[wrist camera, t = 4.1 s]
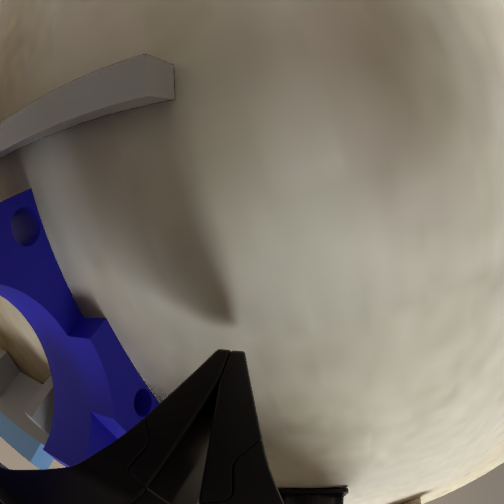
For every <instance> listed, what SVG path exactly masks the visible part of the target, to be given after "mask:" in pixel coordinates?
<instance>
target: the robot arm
mask: <svg viewBox="0 0 504 504" xmlns="http://www.w3.org/2000/svg"><path fill="white" fill-rule="evenodd" d="M347 493H348V488H342V489H322V490H292V489H277V486H276V484H275V482H274V479H273V476H272V474H271V471H270V468H269V465H268V461H267V457H266V454H265V450H264V445H263V441H262V436H261V431H260V427H259V422H258V417H257V412H256V407H255V402H254V398H253V393H252V387H251V382H250V377H249V372H248V367H247V362H246V356H245V353H244V352H243V351H232V352H231V351H230V350H223V349H218V350H217V351H216V352H215V353H214V354H213V355H211V356H210V357H209V358H208V359H207V360H206V361H205V362H204V363H203V364H202V365H201V366H200V367H199V368H198V369H197V370H196V371H195V372H194V373H193V374H192V375H190V376H189V377H188V378H187V379H186V380H185V381H184V382H183V383H182V384H181V385H180V386H179V387H178V388H176V389H175V390H174V391H173V392H172V393H171V394H170V395H169V396H168V397H167V398H166V399H164V400H163V401H162V402H161V403H160V404H159V405H158V406H157V407H156V408H154V409H153V410H152V411H151V412H150V413H149V414H148V415H147V416H145V418H143V419H142V420H141V421H140V422H138V423H137V424H136V425H135V426H134V427H133V428H131V429H130V430H129V431H128V432H126V433H125V434H124V435H122V436H121V437H120V438H118V439H117V440H115V441H114V442H112V443H111V444H109V445H108V446H106V447H105V448H103V449H102V450H100V451H98V452H97V453H95V454H94V455H92V456H90V457H89V458H87V459H85V460H84V461H82V462H80V463H78V464H76V465H73V466H70V467H65V468H57V469H41V470H9V469H8V468H6V467H5V466H4V465H2V464H1V463H0V504H197V502H198V499H199V504H343V497H344V496H345V495H346V494H347ZM199 496H200V497H199Z"/></svg>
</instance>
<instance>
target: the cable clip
mask: <svg viewBox="0 0 504 504" xmlns="http://www.w3.org/2000/svg"><path fill="white" fill-rule="evenodd" d="M0 295H1V296H2V297H4V298H5V299H7V300H8V301H9V302H10V303H12V304H13V305H14V306H15V307H16V308H17V309H18V310H19V311H20V312H21V313H22V315H23V316H24V317H25V318H26V319H27V321H28V322H29V323H30V325H31V326H32V328H33V329H34V331H35V333H36V334H37V336H38V338H39V340H40V342H41V344H42V347H43V349H44V351H45V354H46V357H47V360H48V363H49V366H50V370H51V375H52V380H53V387H54V415H53V422H52V427H51V431H50V434H49V437H48V440H47V442H46V444H45V446H44V448H43V450H44V451H45V452H46V453H48V454H49V455H50V456H51V457H53V458H54V459H56V460H57V461H58V462H59V463H61V464H63V465H64V466H66V467H70V466H73V465H76V464H78V463H80V462H82V461H84V460H85V459H87V458H89V457H90V456H92V455H94V454H95V453H97V452H98V451H100V450H102V449H103V448H105V447H106V446H108V445H109V444H111V443H112V442H114V441H115V440H117V439H118V438H120V437H121V436H122V435H124V434H125V433H126V432H128V431H129V430H130V429H131V428H133V427H134V426H135V425H136V424H137V423H138V422H140V421H141V420H142V419H143V418H145V416H147V415H148V414H149V413H150V412H151V411H152V410H153V409H154V408H156V407H157V406H158V405H159V402H158V401H157V400H156V398H155V397H154V395H153V394H152V392H151V391H150V390H149V388H148V387H147V385H146V384H145V382H144V381H143V379H142V378H141V376H140V375H139V373H138V372H137V370H136V369H135V367H134V365H133V364H132V362H131V361H130V359H129V357H128V356H127V354H126V352H125V351H124V349H123V347H122V346H121V344H120V342H119V341H118V339H117V337H116V335H115V334H114V332H113V330H112V328H111V326H110V324H109V323H108V321H107V319H105V318H84V317H83V315H82V313H81V312H80V310H79V308H78V306H77V304H76V302H75V300H74V298H73V296H72V294H71V292H70V290H69V288H68V286H67V284H66V281H65V279H64V277H63V275H62V273H61V270H60V268H59V266H58V264H57V261H56V259H55V256H54V254H53V251H52V249H51V246H50V244H49V241H48V239H47V236H46V233H45V230H44V228H43V225H42V222H41V219H40V216H39V213H38V210H37V206H36V203H35V200H34V196H33V193H32V189H28V190H26V191H24V192H22V193H19V194H17V195H15V196H13V197H11V198H9V199H6V200H4V201H2V202H0Z"/></svg>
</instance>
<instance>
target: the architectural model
mask: <svg viewBox="0 0 504 504" xmlns="http://www.w3.org/2000/svg"><path fill="white" fill-rule="evenodd" d="M403 504H421V499H420V498H417V499H415V500H412V501H409V502H406V503H403Z"/></svg>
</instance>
